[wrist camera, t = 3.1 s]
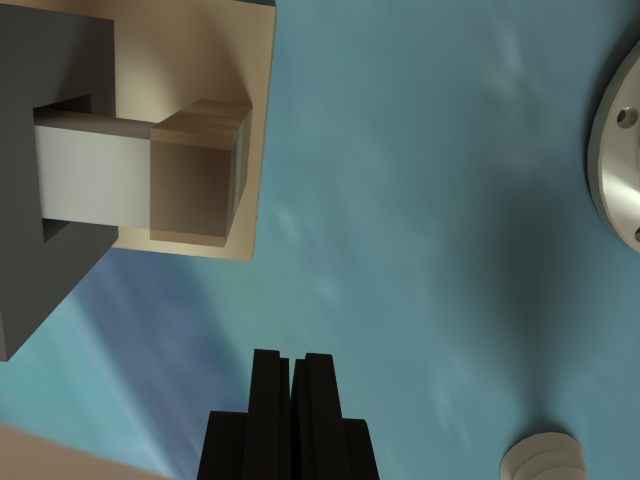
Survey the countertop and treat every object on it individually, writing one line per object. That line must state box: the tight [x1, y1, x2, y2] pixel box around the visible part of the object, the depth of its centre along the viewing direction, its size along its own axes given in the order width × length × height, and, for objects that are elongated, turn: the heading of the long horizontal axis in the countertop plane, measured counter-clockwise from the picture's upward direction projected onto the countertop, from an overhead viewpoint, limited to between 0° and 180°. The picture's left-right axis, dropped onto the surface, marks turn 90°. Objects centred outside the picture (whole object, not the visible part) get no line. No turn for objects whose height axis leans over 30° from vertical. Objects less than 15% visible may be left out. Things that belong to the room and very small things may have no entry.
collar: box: [0, 3, 118, 362], centre depth 13 cm, size 3×8×8 cm, turn 172°
